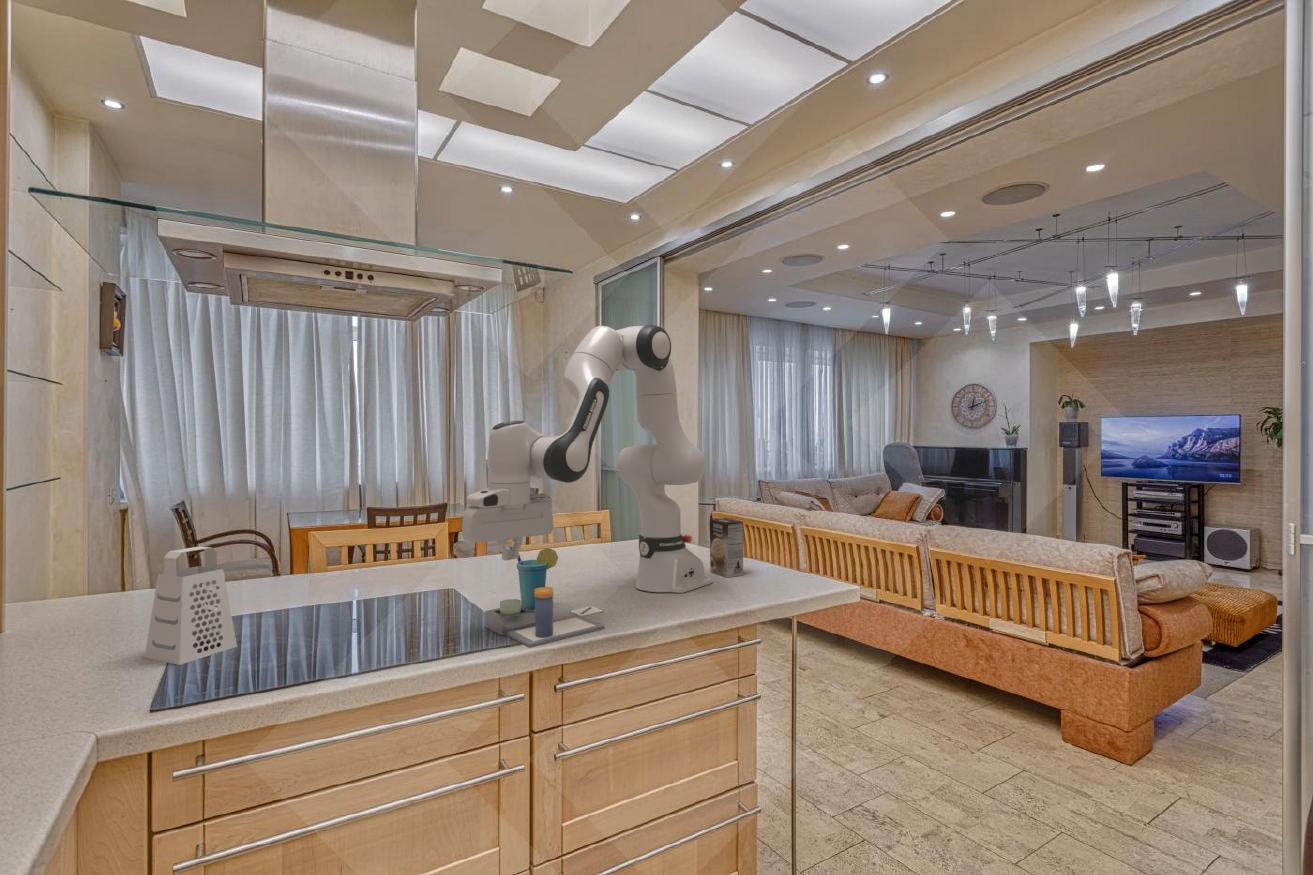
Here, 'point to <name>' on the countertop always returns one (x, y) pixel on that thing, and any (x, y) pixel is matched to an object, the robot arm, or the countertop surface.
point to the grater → (189, 611)
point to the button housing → (509, 620)
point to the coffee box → (726, 547)
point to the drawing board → (556, 631)
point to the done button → (510, 607)
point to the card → (586, 611)
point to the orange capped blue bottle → (543, 612)
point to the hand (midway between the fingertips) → (509, 559)
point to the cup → (534, 574)
